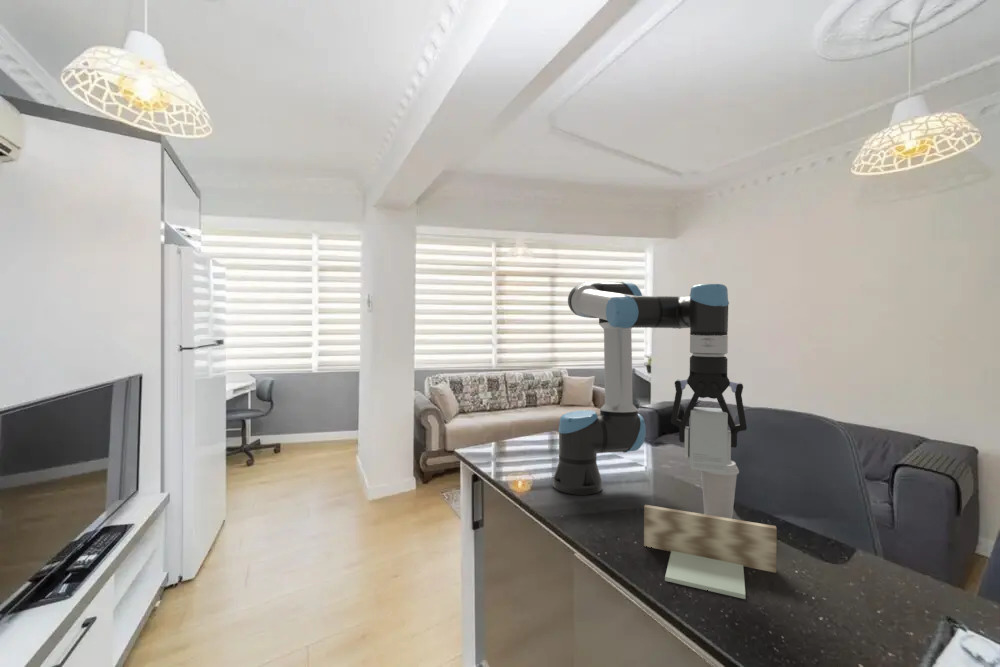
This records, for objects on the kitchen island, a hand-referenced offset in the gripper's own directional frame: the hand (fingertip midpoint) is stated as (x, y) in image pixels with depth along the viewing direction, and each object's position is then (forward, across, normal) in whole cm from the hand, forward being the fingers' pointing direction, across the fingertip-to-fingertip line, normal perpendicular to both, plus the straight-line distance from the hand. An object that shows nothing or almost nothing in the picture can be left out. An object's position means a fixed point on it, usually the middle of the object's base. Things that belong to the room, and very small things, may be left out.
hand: (707, 459), depth 101 cm
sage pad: (+21, 0, -9) cm, 23 cm away
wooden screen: (+21, 0, -1) cm, 21 cm away
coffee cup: (+21, +2, +23) cm, 31 cm away
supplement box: (+2, 0, 0) cm, 2 cm away
